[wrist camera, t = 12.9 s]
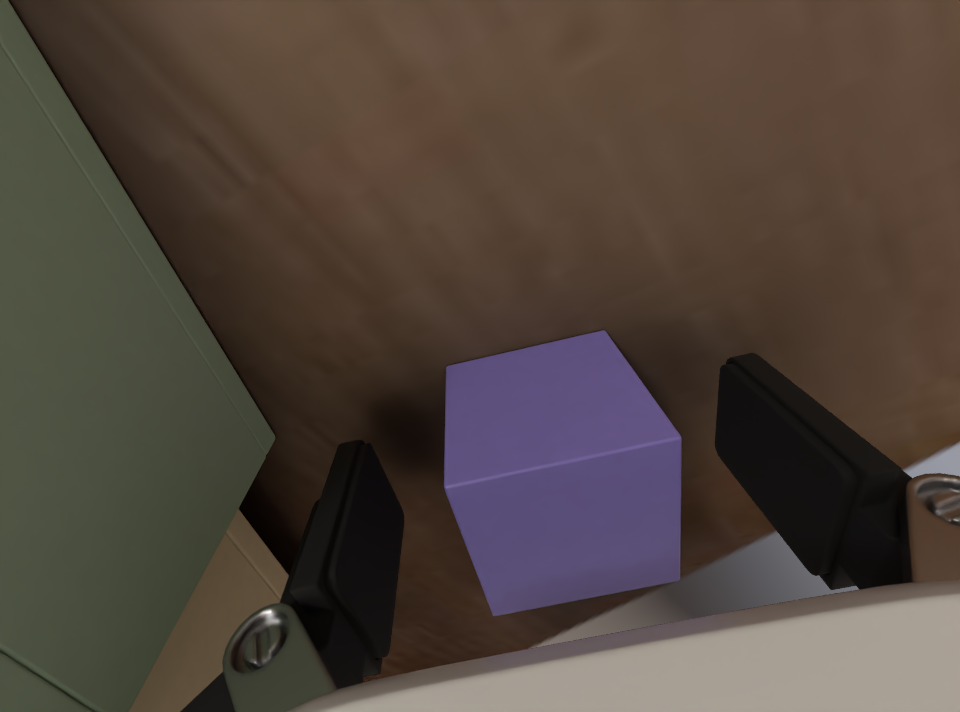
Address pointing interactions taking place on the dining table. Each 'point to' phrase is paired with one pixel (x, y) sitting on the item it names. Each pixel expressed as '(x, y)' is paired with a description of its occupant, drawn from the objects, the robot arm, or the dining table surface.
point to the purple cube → (561, 474)
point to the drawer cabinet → (98, 415)
